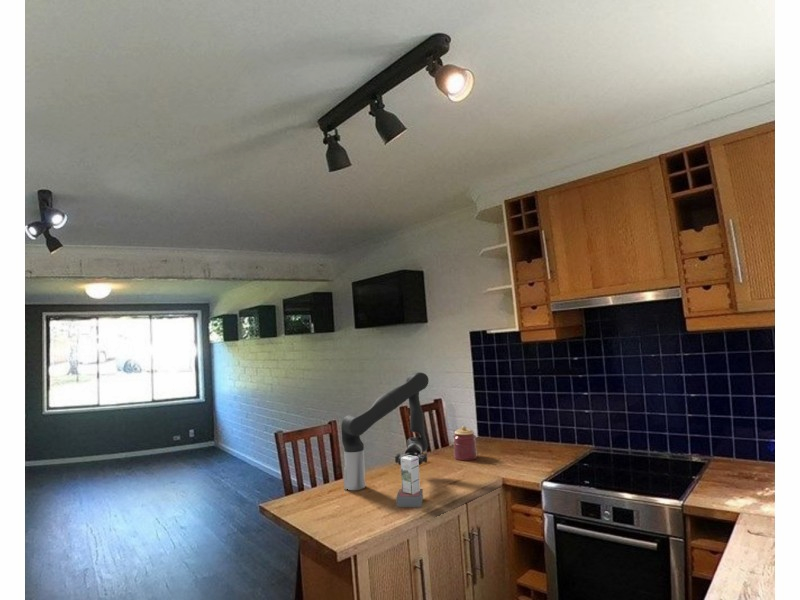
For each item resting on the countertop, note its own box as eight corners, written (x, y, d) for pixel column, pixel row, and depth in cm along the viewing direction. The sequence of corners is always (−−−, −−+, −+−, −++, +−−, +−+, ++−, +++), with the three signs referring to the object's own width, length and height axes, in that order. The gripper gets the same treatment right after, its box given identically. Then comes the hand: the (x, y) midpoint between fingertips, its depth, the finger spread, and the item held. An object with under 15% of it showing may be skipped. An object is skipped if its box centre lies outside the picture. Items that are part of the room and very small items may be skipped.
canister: (470, 462, 248) (468, 429, 249) (449, 459, 255) (448, 427, 257) (481, 456, 258) (479, 424, 259) (461, 453, 266) (459, 422, 267)
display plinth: (396, 507, 187) (396, 496, 187) (399, 498, 197) (399, 488, 197) (421, 507, 186) (420, 496, 186) (422, 498, 196) (422, 488, 196)
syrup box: (420, 491, 192) (419, 456, 194) (412, 495, 188) (410, 459, 189) (410, 488, 196) (408, 454, 197) (401, 492, 192) (399, 457, 193)
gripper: (398, 445, 215) (393, 454, 199) (428, 444, 213) (425, 453, 197) (399, 461, 215) (394, 471, 199) (429, 461, 213) (426, 471, 197)
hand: (409, 462), depth 198 cm, fingers open, 8 cm apart
